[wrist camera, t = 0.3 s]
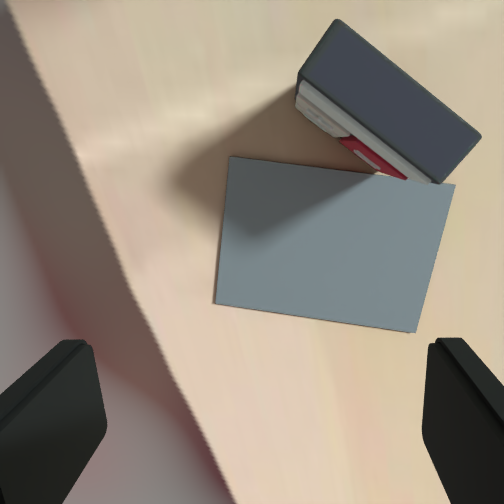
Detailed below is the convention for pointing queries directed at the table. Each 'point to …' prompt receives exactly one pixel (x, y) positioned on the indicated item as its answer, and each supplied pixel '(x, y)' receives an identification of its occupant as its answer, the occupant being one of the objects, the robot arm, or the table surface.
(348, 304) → the mat
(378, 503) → the table surface
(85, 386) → the robot arm
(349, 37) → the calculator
